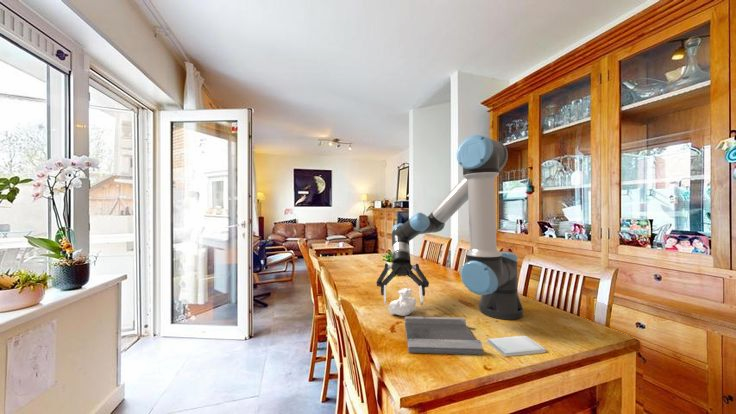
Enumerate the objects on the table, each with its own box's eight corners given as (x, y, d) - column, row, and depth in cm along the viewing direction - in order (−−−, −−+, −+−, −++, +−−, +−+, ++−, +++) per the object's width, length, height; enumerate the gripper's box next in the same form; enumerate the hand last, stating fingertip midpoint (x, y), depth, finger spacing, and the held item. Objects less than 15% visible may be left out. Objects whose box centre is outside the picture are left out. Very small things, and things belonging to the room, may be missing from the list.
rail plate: (464, 325, 92) (464, 317, 92) (482, 354, 74) (482, 343, 74) (404, 324, 93) (404, 315, 93) (408, 352, 75) (408, 342, 75)
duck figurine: (390, 323, 100) (400, 305, 93) (381, 305, 105) (390, 287, 99) (416, 317, 105) (427, 299, 99) (407, 300, 110) (417, 282, 104)
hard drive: (504, 352, 73) (545, 348, 75) (487, 338, 81) (524, 334, 83) (505, 359, 73) (546, 354, 75) (487, 343, 81) (524, 339, 83)
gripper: (430, 260, 117) (436, 308, 102) (372, 260, 119) (370, 307, 104) (431, 250, 112) (438, 299, 97) (371, 250, 114) (369, 298, 99)
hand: (403, 303), depth 100 cm, fingers open, 13 cm apart
